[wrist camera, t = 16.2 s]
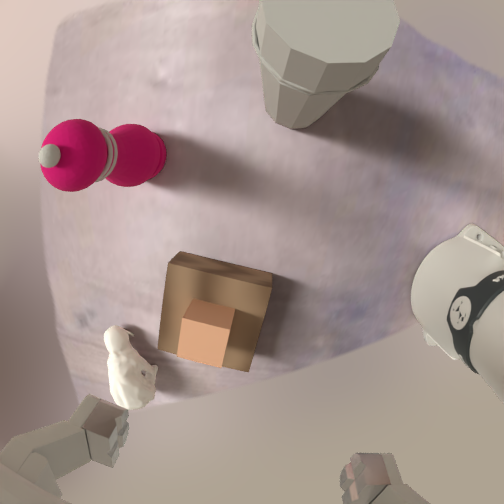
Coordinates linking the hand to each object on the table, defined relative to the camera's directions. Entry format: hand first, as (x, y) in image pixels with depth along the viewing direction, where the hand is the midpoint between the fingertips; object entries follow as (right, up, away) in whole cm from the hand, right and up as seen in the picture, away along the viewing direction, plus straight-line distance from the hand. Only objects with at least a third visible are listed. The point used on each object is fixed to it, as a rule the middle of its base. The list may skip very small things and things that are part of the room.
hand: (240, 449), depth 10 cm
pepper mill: (-13, +19, +28) cm, 36 cm away
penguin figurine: (-18, -9, +36) cm, 41 cm away
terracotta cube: (-4, -2, +28) cm, 28 cm away
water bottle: (+6, +25, +25) cm, 36 cm away
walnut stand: (-4, 0, +33) cm, 33 cm away
